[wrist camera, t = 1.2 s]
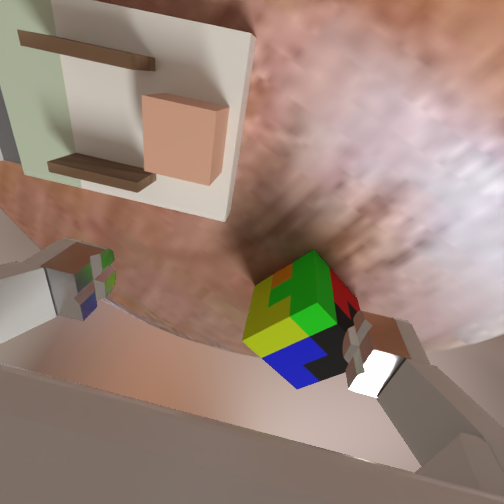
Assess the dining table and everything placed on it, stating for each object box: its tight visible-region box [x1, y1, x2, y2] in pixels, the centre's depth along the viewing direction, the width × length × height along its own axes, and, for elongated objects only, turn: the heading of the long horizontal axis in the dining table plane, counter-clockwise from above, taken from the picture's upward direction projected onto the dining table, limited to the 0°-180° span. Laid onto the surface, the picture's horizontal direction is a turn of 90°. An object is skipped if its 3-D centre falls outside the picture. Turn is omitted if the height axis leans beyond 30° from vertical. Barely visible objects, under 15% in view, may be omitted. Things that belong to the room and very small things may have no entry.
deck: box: [0, 0, 257, 222], centre depth 28 cm, size 17×31×3 cm, turn 80°
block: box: [142, 93, 230, 186], centre depth 25 cm, size 6×6×4 cm
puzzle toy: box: [242, 250, 360, 389], centre depth 34 cm, size 10×10×10 cm
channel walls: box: [17, 29, 156, 193], centre depth 25 cm, size 11×9×4 cm
